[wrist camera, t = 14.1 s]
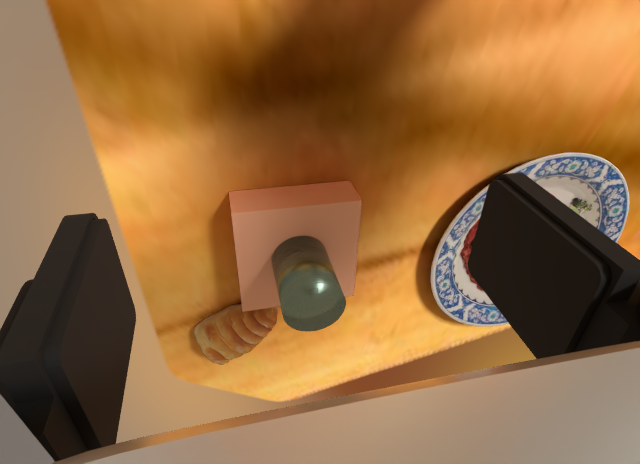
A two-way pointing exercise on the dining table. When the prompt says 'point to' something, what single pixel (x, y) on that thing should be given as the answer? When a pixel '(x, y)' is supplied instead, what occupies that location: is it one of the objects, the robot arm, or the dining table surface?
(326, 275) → the tea tin
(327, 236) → the terracotta stand
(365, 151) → the dining table surface
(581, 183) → the ceramic plate
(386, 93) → the dining table surface
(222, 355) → the pastry
